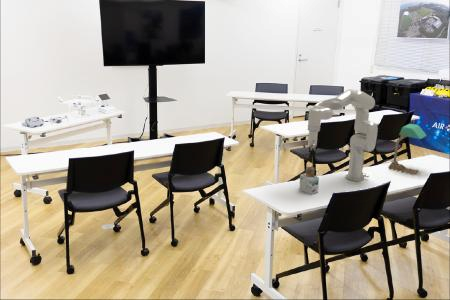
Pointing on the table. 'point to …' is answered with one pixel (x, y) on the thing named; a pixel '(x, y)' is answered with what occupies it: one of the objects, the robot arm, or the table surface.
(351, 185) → the table surface
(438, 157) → the table surface
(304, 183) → the light bulb box
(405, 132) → the banker's lamp
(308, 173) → the walnut block
